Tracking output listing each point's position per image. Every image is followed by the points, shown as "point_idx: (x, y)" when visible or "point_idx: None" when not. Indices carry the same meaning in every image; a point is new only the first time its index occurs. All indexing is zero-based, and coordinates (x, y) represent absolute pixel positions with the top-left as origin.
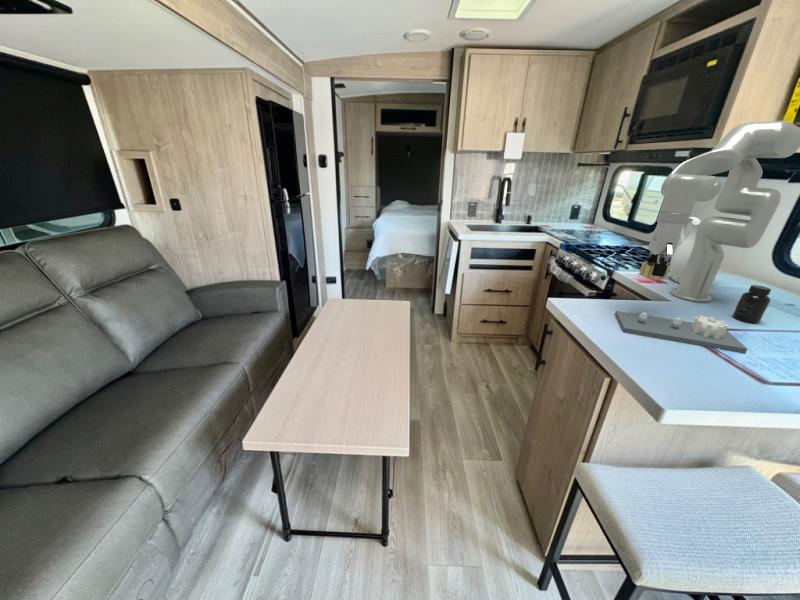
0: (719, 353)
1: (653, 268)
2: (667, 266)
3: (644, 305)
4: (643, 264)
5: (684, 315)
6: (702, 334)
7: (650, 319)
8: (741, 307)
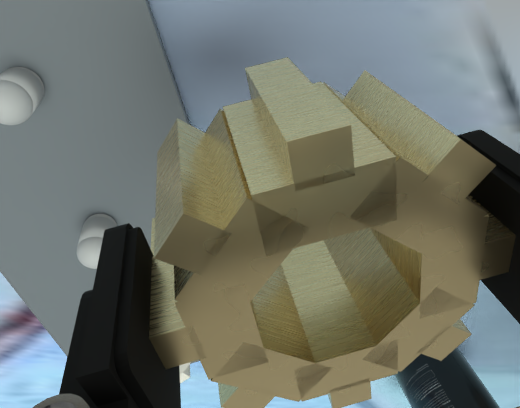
0: (18, 334)
1: (120, 284)
2: (317, 391)
3: (416, 79)
4: (285, 138)
5: None
6: None
7: (126, 126)
8: (436, 386)
